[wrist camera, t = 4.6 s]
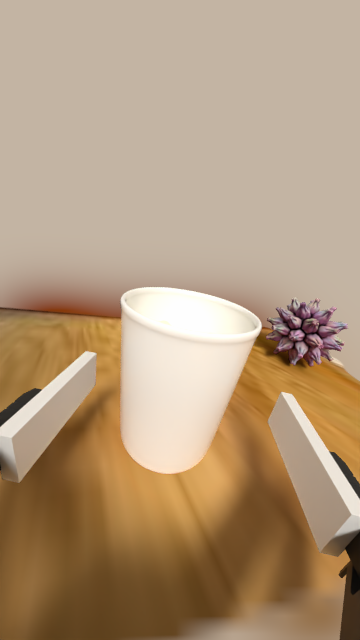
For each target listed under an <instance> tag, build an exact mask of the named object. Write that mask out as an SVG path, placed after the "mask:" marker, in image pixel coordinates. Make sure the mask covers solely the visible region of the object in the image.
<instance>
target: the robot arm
mask: <svg viewBox="0 0 360 640" xmlns="http://www.w3.org/2000/svg"><path fill="white" fill-rule="evenodd" d="M95 383H96V353H93V352H88V351H86V352H84V353H83V354H82V355H81V356H80V357H79V358H78V359H77V360H75V361H74V362H73V363H72V364H71V365H70V366H69V367H67V368H66V369H65V370H64V371H63V372H62V373H61V374H60V375H58V376H57V377H56V378H55V379H54V380H53V381H52V382H51V383H49V384H48V385H47V386H46V387H45V388H44V389H43V390H41V389H36V388H34V389H32V390H30V391H28V392H26V393H24V394H23V395H22V396H20V397H19V398H18V399H17V400H15V402H14V403H12V404H11V405H9V406H8V407H7V409H4V410H3V411H2V412H1V413H0V471H1V474H2V479H4V480H9V481H13V482H17V483H20V481H21V480H22V479H23V477H24V476H25V475H26V474H27V472H28V471H29V470H30V468H31V467H32V466H33V465H34V463H35V462H36V461H37V459H38V458H39V457H40V456H41V454H42V453H43V452H44V450H45V449H46V448H47V447H48V445H49V444H50V443H51V441H52V440H53V439H54V438H55V436H56V435H57V434H58V432H59V431H60V430H61V429H62V427H63V426H64V425H65V423H66V422H67V421H68V419H69V418H70V417H71V416H72V414H73V413H74V412H75V410H76V409H77V408H78V407H79V405H80V404H81V403H82V401H83V400H84V399H85V398H86V396H87V395H88V394H89V392H90V391H91V390H92V389H93V387H94V386H95ZM268 424H269V426H270V429H271V431H272V434H273V436H274V439H275V441H276V444H277V446H278V449H279V451H280V454H281V456H282V459H283V461H284V464H285V466H286V469H287V471H288V474H289V476H290V479H291V481H292V484H293V486H294V489H295V491H296V494H297V496H298V499H299V502H300V504H301V507H302V509H303V512H304V514H305V517H306V519H307V522H308V524H309V527H310V529H311V532H312V534H313V537H314V539H315V542H316V544H317V547H318V549H319V552H320V553H324V554H328V555H333V556H337V557H338V556H339V555H340V554H341V553H342V552H343V551H344V550H345V549H346V552H347V554H348V556H349V558H350V560H351V561H350V562H349V563H348V564H347V565H346V566H345V567H344V568H343V569H342V570H341V571H340V573H339V576H340V577H341V578H343V577H344V576H345V575H346V574H347V575H346V584H345V594H344V603H343V613H342V622H341V631H340V640H360V484H359V482H358V481H357V480H356V478H355V477H353V474H352V472H351V471H350V469H349V468H348V466H347V465H346V463H345V462H344V461H343V460H342V459H341V458H340V457H339V456H338V455H337V454H336V453H334V452H330V451H328V449H327V448H326V446H325V445H324V443H323V442H322V440H321V438H320V437H319V435H318V434H317V432H316V431H315V429H314V428H313V426H312V424H311V423H310V421H309V420H308V418H307V417H306V415H305V414H304V412H303V410H302V409H301V407H300V406H299V404H298V403H297V401H296V400H295V398H294V396H293V395H292V394H288V393H283V392H281V393H280V395H279V398H278V400H277V402H276V404H275V407H274V409H273V411H272V413H271V416H270V418H269V420H268Z"/></svg>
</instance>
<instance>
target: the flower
mask: <svg viewBox="0 0 360 640" xmlns="http://www.w3.org/2000/svg"><path fill="white" fill-rule="evenodd" d="M319 301H320V299H317V298H316V299H315V301H314V300H313V301H311V302H310V303H309V304H308V305H307V306H306V303H305V302H302V303H300V302H299V301H298V300H297V298H293V299H292V304H290V305H288V306H287V307H288V310H285V309H283V308H280V309H279V308H278V307H277V308H276V310H277V311H278V313H279V315H280V317H281V318H270V317H268V318H267V321H269V322H270V323H272V325H273V326H272V330H274V331H273V332H272V333H269V334H268V335H267V336H266V339H271V340H274V341H280V342H279V343H278V344H277V347H276V349H275V350H274V351H273V352H274V353H275V354H277V353H279V352H286V351H288V354H289V360H290V363H291V364H293V365H296V362H297V361H298V360H299V359H301V358H304V359H305V360H306V361H307V362H308V364H309V366H313V360H314V361H315V362H316V363H317V364H318V365H319V364H320V363H322V362H321V360H320V356H323V357H325V358H327V359H328V360H329V361H332V360H333V358H332V357H331V355H330V351H329V350H331V349H334V350H337V351H341V349H342V347H340V346H339V345H342V346H343V345H344V344H345V342H344V341H341V340H340V339H339V338H338V337H337V336H336V335H334V334H337V333H339V332H340V331H341V330H343V329H347V324H343V323H342V322H332V321H329V319H330V318H331V316H332V314H333V312H334V311H335V310H336V309H337V308H335V307H332V308H330V309H327V310H323V311H320V312H319Z"/></svg>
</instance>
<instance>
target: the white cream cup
mask: <svg viewBox="0 0 360 640" xmlns="http://www.w3.org/2000/svg"><path fill="white" fill-rule="evenodd" d="M120 305H121V374H120V432H121V438H122V442H123V444H124V447H125V449H126V451H127V452H128V454H129V455H130V456H131V457H132V458H133V459H134V460H135V461H136V462H137V463H138V464H140V465H141V466H143V467H144V468H146V469H148V470H151V471H154V472H157V473H163V474H175V473H180V472H184V471H186V470H189V469H191V468H192V467H194V466H195V465H197V464H198V463H199V462H200V461H201V460H202V459H203V458H204V456H205V455H206V453H207V451H208V449H209V447H210V445H211V443H212V441H213V439H214V436H215V434H216V432H217V429H218V427H219V425H220V422H221V420H222V418H223V415H224V413H225V411H226V408H227V406H228V404H229V401H230V399H231V397H232V394H233V392H234V389H235V387H236V385H237V382H238V380H239V378H240V375H241V373H242V371H243V368H244V366H245V364H246V361H247V359H248V356H249V354H250V352H251V349H252V347H253V345H254V343H255V340H256V338H257V336H258V335H259V333H260V332H261V328H262V324H261V321H260V320H259V318H258V317H257V316H256V315H254V314H253V313H252V312H250V311H249V310H247V309H245V308H243V307H241V306H239V305H237V304H234V303H232V302H229V301H227V300H223V299H221V298H218V297H214V296H211V295H207V294H203V293H199V292H193V291H188V290H182V289H174V288H163V287H145V288H137V289H133V290H130V291H127V292H126V293H124V294H123V295H122V297H121V301H120Z"/></svg>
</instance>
